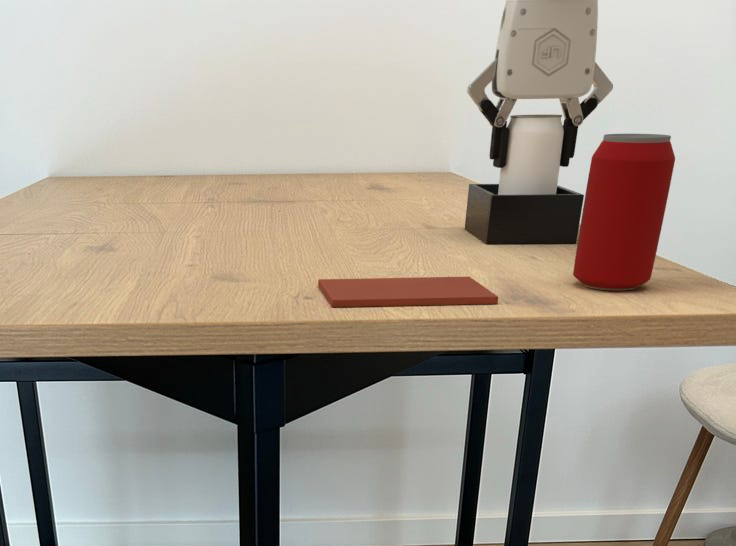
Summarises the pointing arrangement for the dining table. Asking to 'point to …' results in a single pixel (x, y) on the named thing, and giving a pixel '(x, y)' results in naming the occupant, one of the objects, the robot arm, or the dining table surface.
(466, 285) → the mat
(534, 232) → the box
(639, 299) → the dining table surface
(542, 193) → the can
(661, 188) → the beverage can
